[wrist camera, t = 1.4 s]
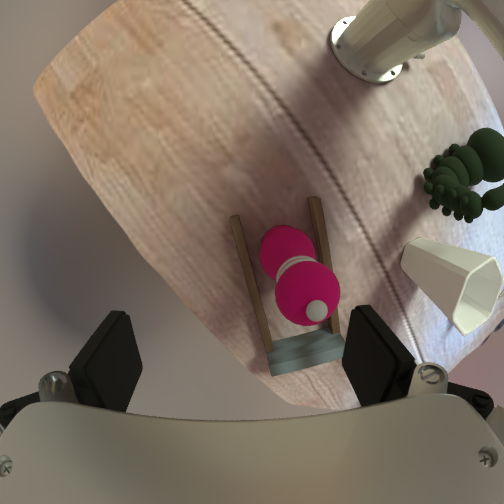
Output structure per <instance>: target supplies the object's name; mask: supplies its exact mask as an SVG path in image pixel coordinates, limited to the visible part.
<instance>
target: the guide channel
mask: <svg viewBox="0 0 504 504" xmlns="http://www.w3.org/2000/svg"><path fill="white" fill-rule="evenodd" d="M308 203H309V208H310V213H311V218H312V223H313V228H314V234H315V239H316V245H317V250H318V256H319V262H320V263H321V264H323V265H325V266H327V267H328V268H329V269H330V270H331V271H332V272H333V269H332V262H331V256H330V249H329V243H328V237H327V231H326V226H325V220H324V215H323V209H322V204H321V199H320V198H319V197H316V196H314V197H310V198H308ZM230 224H231V227H232V231H233V235H234V238H235V242H236V246H237V249H238V253H239V257H240V260H241V264H242V267H243V271H244V274H245V278H246V282H247V285H248V289H249V292H250V296H251V299H252V303H253V306H254V310H255V313H256V317H257V320H258V324H259V327H260V331H261V334H262V338H263V341H264V345H265V348H266V352H267V358H268V365H269V369H270V372H271V375H272V376H276V375H281V374H285V373H289V372H293V371H297V370H301V369H305V368H309V367H312V366H316V365H319V364H323V363H326V362H330V361H333V360H336V359H339V358H342V357H343V352H344V347H345V340H344V339H343V337H342V335H341V333H340V326H339V317H338V308H337V307H336V309H335V311H334V312H333V314H332V315H331V316H330V317H329V318H328V322H329V327H327V328H323V329H320V330H316V331H312V332H309V333H305V334H301V335H298V336H294V337H290V338H286V339H282V340H278V341H274V342H272V339H271V335H270V331H269V328H268V324H267V320H266V316H265V313H264V309H263V305H262V301H261V298H260V294H259V290H258V286H257V283H256V279H255V275H254V271H253V268H252V264H251V260H250V256H249V253H248V249H247V245H246V241H245V237H244V234H243V230H242V226H241V222H240V218H239V215H236V216H232V217H230Z"/></svg>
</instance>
